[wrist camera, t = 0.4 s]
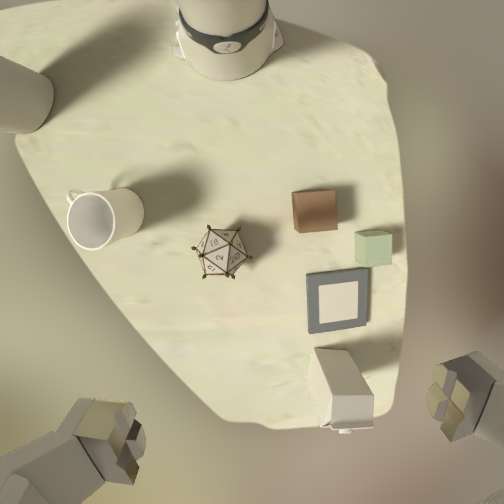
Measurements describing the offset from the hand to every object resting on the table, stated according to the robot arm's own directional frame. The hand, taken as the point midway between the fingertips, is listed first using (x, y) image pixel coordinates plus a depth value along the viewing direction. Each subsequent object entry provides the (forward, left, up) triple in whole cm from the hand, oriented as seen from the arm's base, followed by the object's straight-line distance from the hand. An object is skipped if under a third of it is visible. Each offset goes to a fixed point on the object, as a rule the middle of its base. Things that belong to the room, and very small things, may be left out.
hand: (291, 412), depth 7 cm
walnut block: (-1, +10, -45) cm, 46 cm away
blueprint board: (+16, +14, -44) cm, 49 cm away
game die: (+4, -5, -45) cm, 45 cm away
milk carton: (+29, +12, -45) cm, 55 cm away
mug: (-5, -23, -45) cm, 50 cm away
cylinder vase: (-29, -41, -45) cm, 67 cm away
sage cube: (+6, +20, -45) cm, 49 cm away
